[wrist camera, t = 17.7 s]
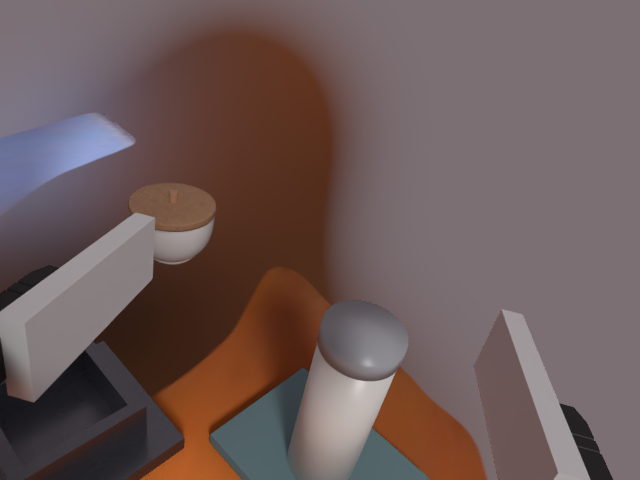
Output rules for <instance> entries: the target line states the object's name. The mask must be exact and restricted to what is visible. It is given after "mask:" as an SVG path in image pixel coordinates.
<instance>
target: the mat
mask: <svg viewBox="0 0 640 480" xmlns="http://www.w3.org/2000/svg"><path fill="white" fill-rule="evenodd" d="M308 375H309V372H308V371H307V370H306V369H305V368H304V367H303V368H302V369H300V370H299V371H297V372H296V373H295V374H293V375H292V376H290V377H289V378H288V379H286V380H285V381H284V382H282V383H281V384H279V385H278V386H277V387H275V388H274V389H272V390H271V391H270V392H268V393H267V394H266V395H264V396H263V397H261V398H260V399H259V400H257V401H256V402H254V403H253V404H252V405H250V406H249V407H248V408H246V409H245V410H243V411H242V412H241V413H239V414H238V415H236V416H235V417H234V418H232V419H231V420H229V421H228V422H227V423H225V424H224V425H223V426H221V427H220V428H218V429H217V430H216V431H214V432H213V433H211V434H210V443H211V444H212V445H213V447H214V448H215V449H216V450H217V451H218V452H219V453H220V455H221V456H222V457H223V458H224V459H225V460H226V462H227V463H228V464H229V465H230V466H231V467H232V468H233V470H234V471H235V472H236V473H237V474H238V475H239V477H240V478H241V479H242V480H297V479H296V478H295V477H294V475H293V474H292V472H291V470H290V467H289V464H288V456H287V455H288V448H289V445H290V441H291V437H292V434H293V430H294V426H295V423H296V419H297V415H298V411H299V408H300V404H301V400H302V397H303V393H304V389H305V386H306V382H307V378H308ZM349 480H429V478H428V477H427V476H426V475H425V474H424V473H423V472H421V471H420V470H419V469H418V468H417V467H416V466H415V465H413V464H412V463H411V462H410V461H409V460H408V459H407V458H406V457H404V456H403V455H402V454H401V453H400V452H399V451H398V450H396V449H395V448H394V447H393V446H392V445H391V444H390V443H389V442H387V441H386V440H385V439H384V438H383V437H382V436H381V435H380V434H378V433H377V432H376V431H375V430H374V429H373V428H371V431H370V433H369V435H368V438H367V440H366V442H365V445H364V447H363V449H362V452H361V454H360V456H359V459H358V461H357V463H356V466H355V468H354V470H353V473H352V475H351V477H350V479H349Z"/></svg>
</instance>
